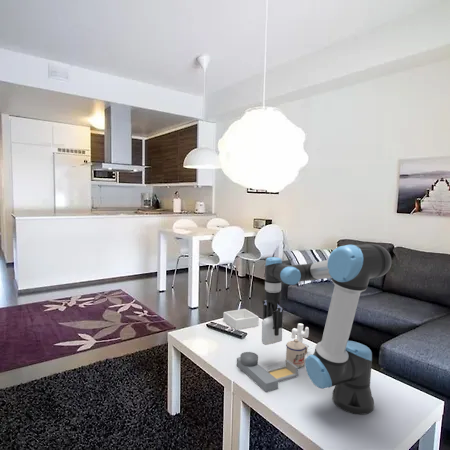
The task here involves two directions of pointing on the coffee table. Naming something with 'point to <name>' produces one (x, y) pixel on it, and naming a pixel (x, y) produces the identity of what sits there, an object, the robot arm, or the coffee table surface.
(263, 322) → the photo printer
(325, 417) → the coffee table surface
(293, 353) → the teacup with lid
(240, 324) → the box
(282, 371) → the deck
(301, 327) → the figurine
